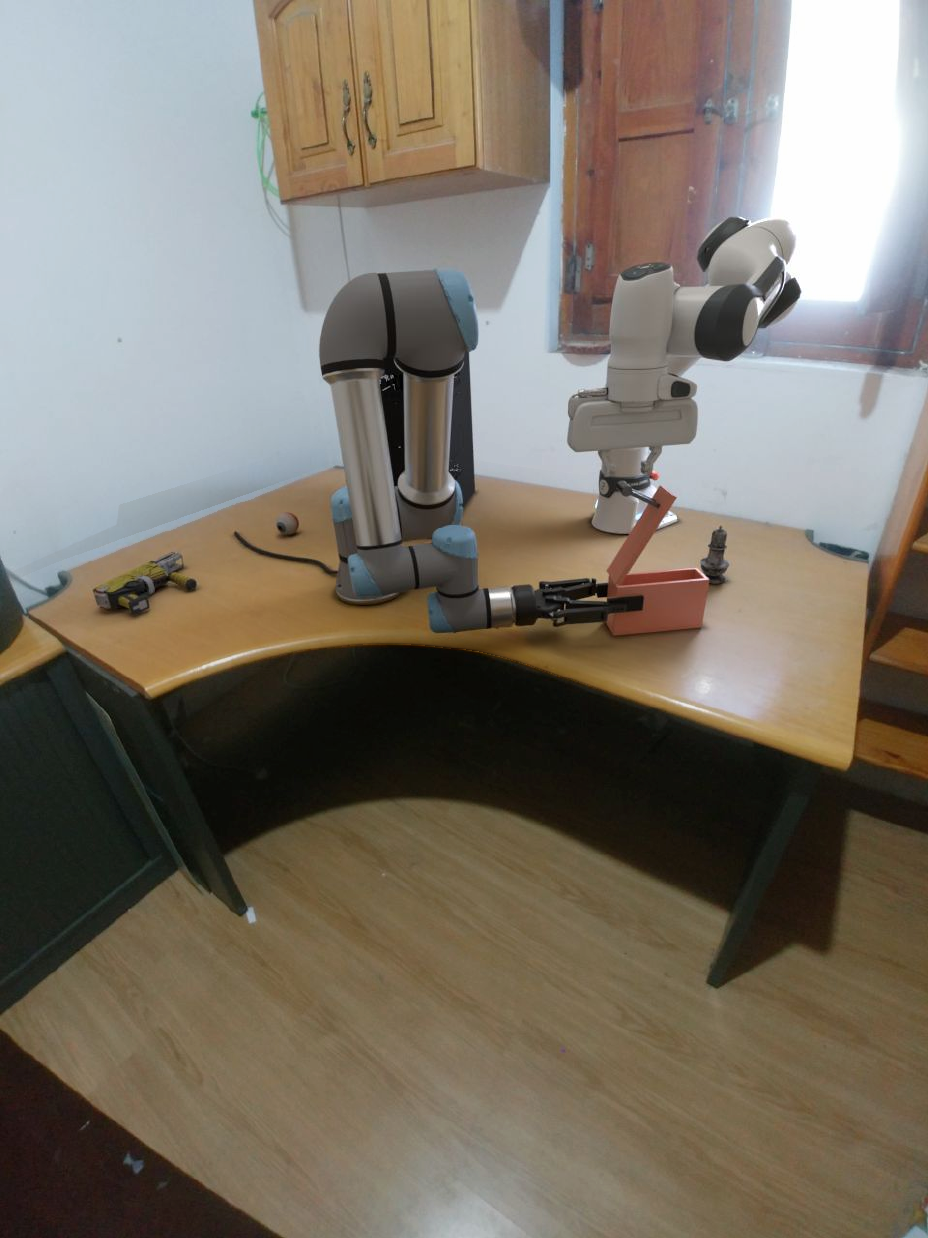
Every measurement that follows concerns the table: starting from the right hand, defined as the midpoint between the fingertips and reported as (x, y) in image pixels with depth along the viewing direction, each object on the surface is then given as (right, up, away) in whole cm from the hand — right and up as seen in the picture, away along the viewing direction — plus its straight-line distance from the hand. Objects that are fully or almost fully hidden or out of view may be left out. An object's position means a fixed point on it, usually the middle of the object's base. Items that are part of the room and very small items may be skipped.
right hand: (627, 474), depth 100 cm
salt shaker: (+26, -15, +30) cm, 43 cm away
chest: (+9, -25, +15) cm, 31 cm away
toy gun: (-96, -18, +39) cm, 105 cm away
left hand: (+5, -20, +12) cm, 23 cm away
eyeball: (-75, -1, +66) cm, 100 cm away
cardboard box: (-38, +7, +76) cm, 85 cm away
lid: (+4, -10, +6) cm, 12 cm away
